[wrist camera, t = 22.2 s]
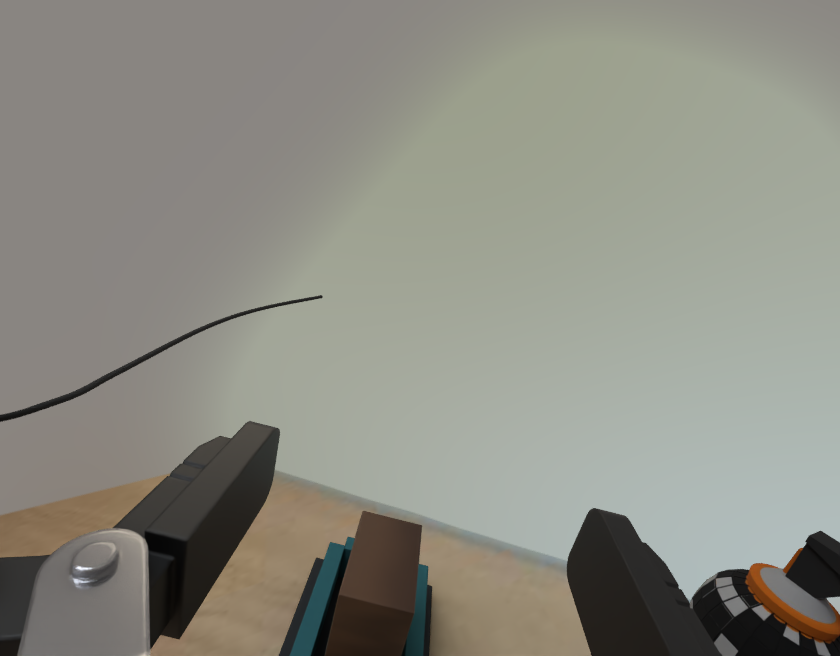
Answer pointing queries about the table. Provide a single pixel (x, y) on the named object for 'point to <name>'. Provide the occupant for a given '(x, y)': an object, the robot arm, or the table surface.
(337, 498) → the table surface
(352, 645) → the walnut block
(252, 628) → the table surface
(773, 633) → the grenade
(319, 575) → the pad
